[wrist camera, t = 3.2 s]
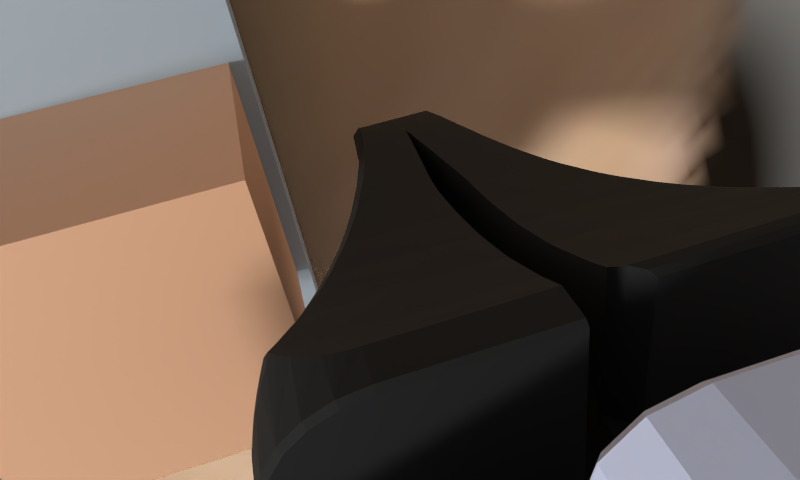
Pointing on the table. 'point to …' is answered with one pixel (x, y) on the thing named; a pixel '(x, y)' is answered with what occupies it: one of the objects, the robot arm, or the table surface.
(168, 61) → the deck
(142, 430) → the block
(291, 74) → the table surface
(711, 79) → the table surface
